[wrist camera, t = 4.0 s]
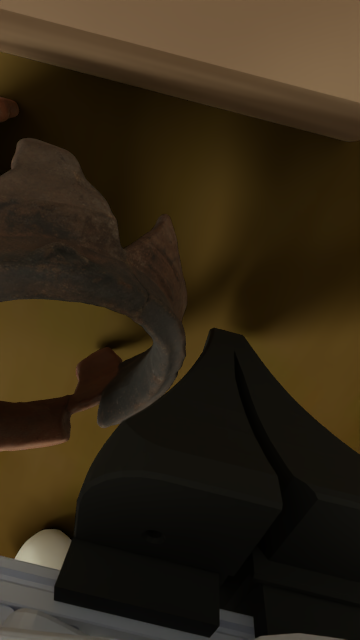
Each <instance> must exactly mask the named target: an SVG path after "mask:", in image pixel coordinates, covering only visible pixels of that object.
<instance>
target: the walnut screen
mask: <svg viewBox="0 0 360 640" xmlns="http://www.w3.org/2000/svg"><path fill="white" fill-rule="evenodd" d="M0 51H1V52H5V53H9V54H12V55H16V56H20V57H24V58H28V59H32V60H36V61H39V62H43V63H47V64H51V65H55V66H59V67H62V68H66V69H70V70H74V71H78V72H82V73H85V74H89V75H93V76H97V77H101V78H105V79H108V80H112V81H116V82H120V83H124V84H128V85H131V86H135V87H139V88H143V89H147V90H151V91H154V92H158V93H162V94H166V95H170V96H174V97H177V98H181V99H185V100H189V101H193V102H197V103H200V104H204V105H208V106H212V107H216V108H220V109H224V110H227V111H231V112H235V113H239V114H243V115H247V116H250V117H254V118H258V119H262V120H266V121H270V122H273V123H277V124H281V125H285V126H289V127H293V128H296V129H300V130H304V131H308V132H312V133H316V134H319V135H323V136H327V137H331V138H335V139H339V140H342V141H346V142H352V141H359V140H360V0H0Z"/></svg>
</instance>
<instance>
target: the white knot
mask: <svg viewBox="0 0 360 640" xmlns="http://www.w3.org/2000/svg"><path fill="white" fill-rule="evenodd" d="M71 541H72V540H71V539H70V538H69V537H68V536H67V535H65V534H64V533H63V532H62V531H61V530H57V529H45V530H42V531H39V532H38V533H36V534H35V535H34V536H32V537H31V538H30V539H28V540H27V541H26V542H25V543H24V544H23V546H22V547H21V549H20V550H19V552H18V554H17V555H16V557H15V559H16V560H20V561H24V562H28V563H33V564H37V565H41V566H45V567H49V568H53V569H57V570H61V567H62V565H63V562H64V559H65V557H66V554H67V552H68V549H69V546H70V544H71Z"/></svg>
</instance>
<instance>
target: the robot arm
mask: <svg viewBox="0 0 360 640" xmlns="http://www.w3.org/2000/svg"><path fill="white" fill-rule="evenodd" d="M0 640H360V454H358V453H357V452H356V451H354V450H353V449H351V448H350V447H349V446H347V445H346V444H345V443H343V442H342V441H341V440H340V439H338V438H337V437H336V436H334V435H333V434H332V433H331V432H330V431H328V430H327V429H326V428H325V427H324V426H322V425H321V424H320V423H319V422H318V421H317V420H315V419H314V418H313V417H312V416H311V415H310V414H309V413H308V412H307V411H306V410H305V409H304V408H302V407H301V406H300V405H299V404H298V403H297V402H296V401H295V400H294V399H293V398H292V397H291V396H290V394H289V393H288V392H287V391H286V390H285V389H284V388H283V387H282V386H281V384H280V383H279V382H278V381H277V380H276V379H275V377H274V376H273V375H272V374H271V373H270V371H269V370H268V369H267V367H266V366H265V365H264V364H263V362H262V361H261V360H260V358H259V357H258V355H257V354H256V353H255V351H254V350H253V348H252V347H251V346H250V344H249V343H248V341H247V340H246V339H245V337H244V336H243V335H240V334H237V333H233V332H229V331H225V330H221V329H217V328H212V329H210V331H209V334H208V337H207V340H206V343H205V346H204V349H203V352H202V354H201V355H200V357H199V358H198V360H197V361H196V362H195V364H194V365H193V366H192V368H191V369H190V370H189V371H188V372H187V374H186V375H185V376H184V377H183V378H182V379H181V380H180V381H179V382H178V383H177V384H176V385H175V386H174V387H173V388H172V389H170V390H169V391H168V392H167V393H166V394H164V395H163V396H162V397H160V398H159V399H158V400H156V401H155V402H153V403H152V404H151V405H149V406H148V407H146V408H145V409H143V410H141V411H140V412H138V413H136V414H134V415H133V416H131V417H129V418H127V419H126V420H124V421H122V422H121V424H120V425H119V426H118V427H117V428H116V430H115V431H114V432H113V433H112V435H111V436H110V437H109V439H108V440H107V441H106V443H105V444H104V445H103V447H102V448H101V450H100V451H99V453H98V454H97V456H96V458H95V459H94V461H93V463H92V465H91V467H90V468H89V471H88V473H87V475H86V478H85V480H84V483H83V486H82V488H81V491H80V494H79V497H78V499H77V506H76V516H75V526H74V536H73V538H72V541H71V544H70V546H69V549H68V552H67V554H66V557H65V559H64V562H63V565H62V567H61V570H57V569H53V568H49V567H45V566H41V565H37V564H33V563H28V562H24V561H20V560H16V559H12V558H8V557H4V556H0Z"/></svg>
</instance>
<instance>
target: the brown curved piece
mask: <svg viewBox="0 0 360 640" xmlns="http://www.w3.org/2000/svg"><path fill="white" fill-rule="evenodd" d="M18 113H19V108H18V105H17V103H16V102H15V101H13V100H11V99H6V98H3V97H0V122H4V121H6V120H7V119H8V118H13V117H15V116H17V115H18ZM177 244H178V243H177V238H176V235H175V231H174V228H173V225H172V222H171V218H170V216H169V215H167V214H163V215H161V216H160V217H159V218H158V220H157V222H156V224H155V226H154V227H153V228H152V230H151V231H150V232H148V233H146V234H144V235H143V236H142V237H140V238H139V239H138V240H136V241H135V242H133V243H132V244H131V245H129V246H127V247H125V248H124V249H123V248H122V246H121V244H120V238H119V230H118V223H117V220H116V218H115V216H114V215H113V213H112V211H111V209H110V206H109V204H108V202H107V201H106V199H105V198H104V197H103V196H102V195H101V194H100V192H99V191H98V190H96V189H95V188H94V187H93V186H92V185H91V184H90V183H89V182H88V181H87V180H86V178H85V176H84V174H83V171H82V169H81V166H80V164H79V162H78V160H77V159H76V158H75V156H74V155H73V154H72V153H70V152H69V151H67V150H66V149H63V148H60V147H57V146H55V145H52V144H49V143H46V142H44V141H41V140H38V139H34V138H23V139H21V140H19V142H18V143H17V146H16V153H15V155H14V157H13V159H12V162H11V170H9V171H8V172H6V173H4V174H3V175H1V176H0V302H2V301H9V300H17V299H50V300H61V301H69V302H82V303H86V304H93V305H96V306H101V307H106V308H108V309H110V310H112V311H115V312H118V313H121V314H125V315H127V316H128V317H130V318H131V319H132V320H133V321H135V322H136V323H138V324H139V325H141V326H142V327H143V328H144V330H145V331H146V332H147V333H148V334H149V335H150V336H151V337H152V339H153V346H152V347H151V348H149V349H148V350H146V351H145V352H143V353H141V354H139V355H137V356H134V357H132V358H131V359H128V360H125V361H123V362H122V359H121V358H120V357H119V356H118V355H117V354H116V353H115V352H114V351H113V350H112V349H111V348H109V347H105V348H102V349H100V350H98V351H96V352H94V353H92V354H91V355H89V356H88V357H87V358H85V359H84V360H82V361H81V362H80V363H79V364H78V365H77V367H76V375H77V378H78V384H77V387H76V390H75V393H74V394H73V395H67V396H63V397H60V398H53V399H46V400H38V401H31V402H17V403H11V402H5V401H0V451H6V450H8V451H15V450H24V449H32V448H40V447H46V446H51V445H56V444H60V443H63V442H66V441H68V440H69V438H70V428H71V425H70V417H71V415H72V414H73V413H76V412H79V411H83V410H86V409H89V408H91V407H94V406H96V405H98V404H100V405H99V409H98V416H97V423H98V425H99V426H100V427H102V428H106V427H109V426H111V425H116V424H120V423H121V422H122V421H124V420H126V419H127V418H129V417H131V416H133V415H134V414H136V413H138V412H140V411H141V410H143V409H145V408H146V407H148V406H149V405H151V404H152V403H153V402H155V401H156V400H158V399H159V398H160V397H161V396H162V395H163V394H165V392H166V391H167V390H168V389H169V388H170V386H171V385H172V383H173V382H174V380H175V378H176V377H177V375H178V370H179V369H180V368H181V367H182V364H183V361H184V358H185V357H186V350H185V346H186V340H185V332H184V328H183V325H182V318H183V315H184V312H185V309H186V306H187V290H186V286H185V280H184V278H183V273H182V267H181V262H180V256H179V252H178V246H177Z"/></svg>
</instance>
